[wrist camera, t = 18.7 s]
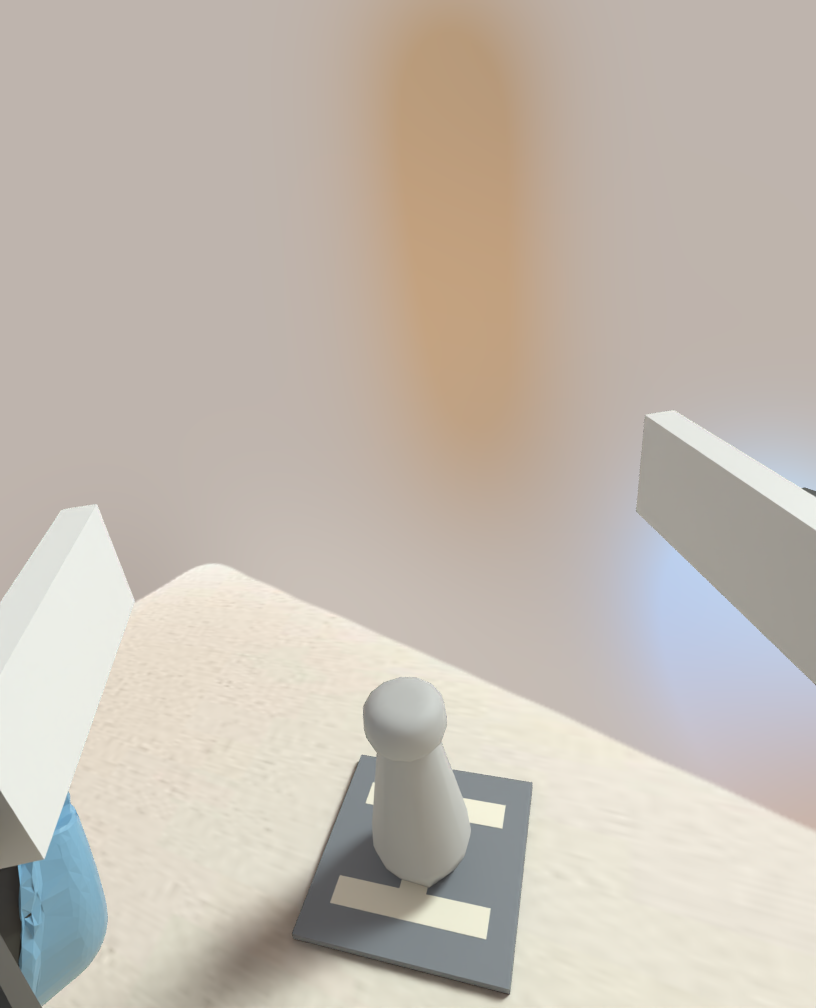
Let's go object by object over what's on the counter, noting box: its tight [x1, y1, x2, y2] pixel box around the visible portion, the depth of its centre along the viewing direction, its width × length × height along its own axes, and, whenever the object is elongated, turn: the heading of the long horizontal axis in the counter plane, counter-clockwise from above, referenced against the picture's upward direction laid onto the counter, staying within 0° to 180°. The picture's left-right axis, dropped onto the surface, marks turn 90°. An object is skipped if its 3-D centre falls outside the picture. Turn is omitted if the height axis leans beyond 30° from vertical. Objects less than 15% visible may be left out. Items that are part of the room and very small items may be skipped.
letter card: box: [292, 755, 532, 994], centre depth 38 cm, size 12×12×1 cm
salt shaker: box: [363, 677, 471, 888], centre depth 35 cm, size 6×6×13 cm
